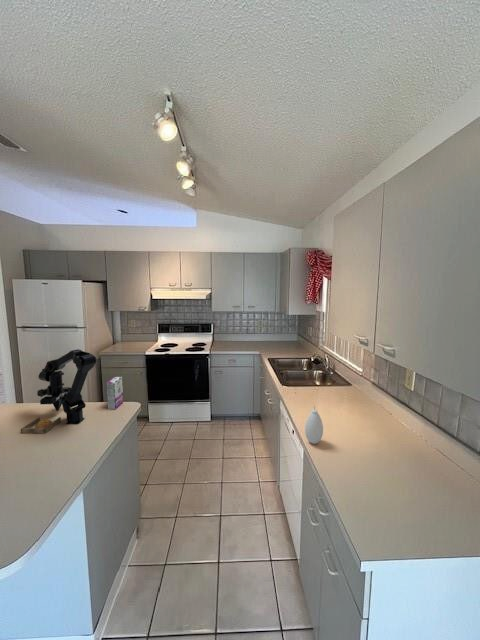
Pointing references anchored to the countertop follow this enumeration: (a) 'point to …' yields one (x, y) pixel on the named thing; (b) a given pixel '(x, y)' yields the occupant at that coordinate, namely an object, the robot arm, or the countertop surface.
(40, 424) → the pastry
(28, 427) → the wooden bracket
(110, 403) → the candy bar box
